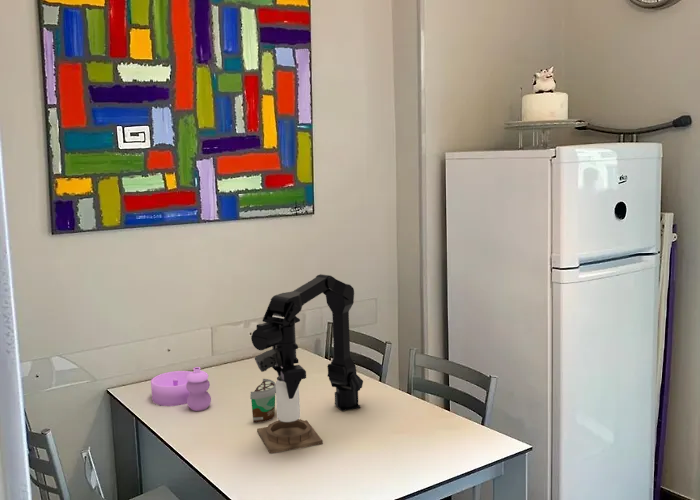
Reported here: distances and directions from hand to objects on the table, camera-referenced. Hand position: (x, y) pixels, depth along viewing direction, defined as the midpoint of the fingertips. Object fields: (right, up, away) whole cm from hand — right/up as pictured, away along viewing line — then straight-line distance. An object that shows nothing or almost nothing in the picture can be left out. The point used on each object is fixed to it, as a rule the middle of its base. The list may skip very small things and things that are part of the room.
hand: (287, 394), depth 197 cm
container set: (-36, -9, +32) cm, 49 cm away
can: (0, -7, +1) cm, 7 cm away
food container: (-8, -11, +17) cm, 22 cm away
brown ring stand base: (0, -13, +2) cm, 13 cm away
